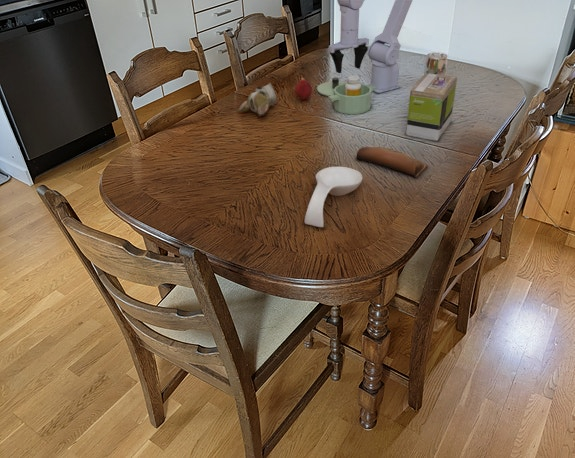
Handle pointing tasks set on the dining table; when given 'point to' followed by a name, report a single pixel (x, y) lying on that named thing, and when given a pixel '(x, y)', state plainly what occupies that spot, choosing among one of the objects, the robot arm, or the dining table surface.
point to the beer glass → (436, 63)
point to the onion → (303, 89)
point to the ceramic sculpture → (259, 100)
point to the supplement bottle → (353, 86)
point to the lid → (329, 87)
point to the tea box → (431, 106)
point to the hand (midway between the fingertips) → (348, 70)
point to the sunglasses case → (391, 159)
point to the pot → (352, 100)
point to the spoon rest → (330, 190)
